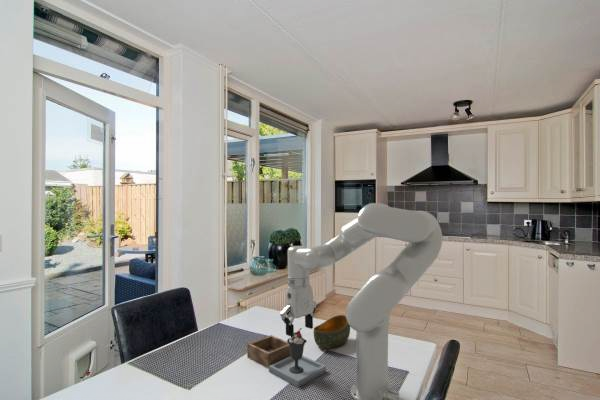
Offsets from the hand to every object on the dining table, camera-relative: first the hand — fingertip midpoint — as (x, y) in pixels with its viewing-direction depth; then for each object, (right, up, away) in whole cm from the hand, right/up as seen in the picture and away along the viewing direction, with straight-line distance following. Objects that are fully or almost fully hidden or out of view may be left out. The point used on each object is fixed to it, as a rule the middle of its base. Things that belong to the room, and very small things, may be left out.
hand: (299, 331), depth 113 cm
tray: (-1, -14, 0) cm, 14 cm away
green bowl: (+14, -15, +24) cm, 31 cm away
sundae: (-1, -13, 0) cm, 13 cm away
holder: (-11, -14, +11) cm, 21 cm away
